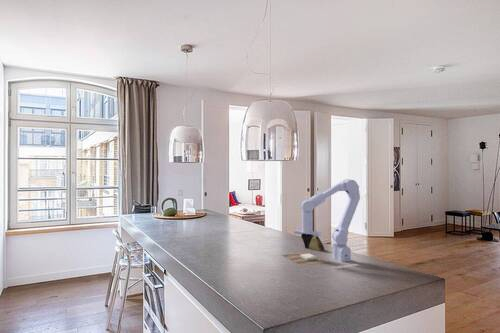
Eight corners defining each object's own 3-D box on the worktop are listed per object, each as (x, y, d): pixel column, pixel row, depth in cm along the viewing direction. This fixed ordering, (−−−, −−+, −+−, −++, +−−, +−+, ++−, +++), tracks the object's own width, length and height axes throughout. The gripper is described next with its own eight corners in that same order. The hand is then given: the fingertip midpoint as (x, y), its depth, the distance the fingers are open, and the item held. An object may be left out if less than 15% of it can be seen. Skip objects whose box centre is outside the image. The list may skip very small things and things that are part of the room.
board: (328, 264, 170) (328, 262, 170) (301, 267, 164) (301, 265, 164) (305, 254, 191) (305, 252, 191) (280, 256, 185) (280, 254, 185)
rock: (301, 246, 201) (310, 247, 192) (307, 234, 204) (316, 234, 195) (314, 255, 204) (323, 257, 195) (320, 243, 207) (329, 245, 198)
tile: (309, 256, 181) (316, 259, 175) (300, 257, 179) (307, 260, 173) (309, 253, 181) (316, 256, 175) (300, 254, 179) (307, 257, 173)
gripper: (322, 223, 178) (322, 248, 178) (297, 220, 186) (297, 245, 185) (318, 224, 172) (318, 251, 172) (292, 222, 180) (292, 247, 179)
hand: (307, 248), depth 178 cm, fingers closed
